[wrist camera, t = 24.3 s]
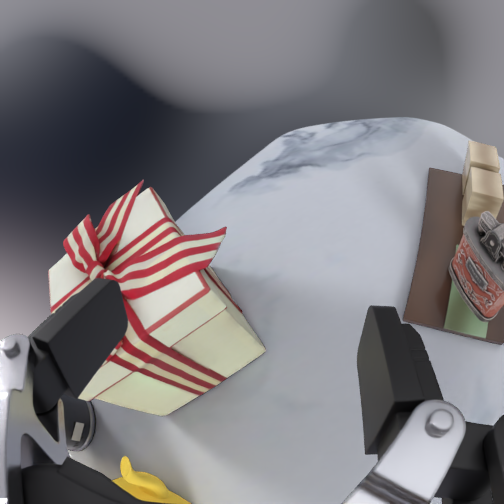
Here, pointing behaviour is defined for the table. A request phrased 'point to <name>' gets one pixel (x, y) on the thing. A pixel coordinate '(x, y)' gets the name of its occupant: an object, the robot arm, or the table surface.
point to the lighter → (480, 266)
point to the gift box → (156, 306)
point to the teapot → (145, 485)
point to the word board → (454, 244)
